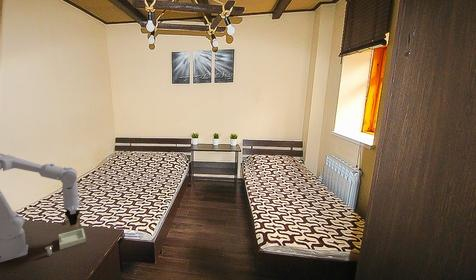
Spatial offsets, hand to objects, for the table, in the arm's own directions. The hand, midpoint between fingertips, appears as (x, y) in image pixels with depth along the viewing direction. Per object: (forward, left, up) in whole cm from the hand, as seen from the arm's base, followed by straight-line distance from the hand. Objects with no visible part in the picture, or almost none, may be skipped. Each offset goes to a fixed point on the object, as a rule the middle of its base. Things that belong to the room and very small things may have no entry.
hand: (72, 221), depth 109 cm
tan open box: (0, 0, -2) cm, 2 cm away
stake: (-9, -6, -10) cm, 15 cm away
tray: (-1, 0, -10) cm, 10 cm away
